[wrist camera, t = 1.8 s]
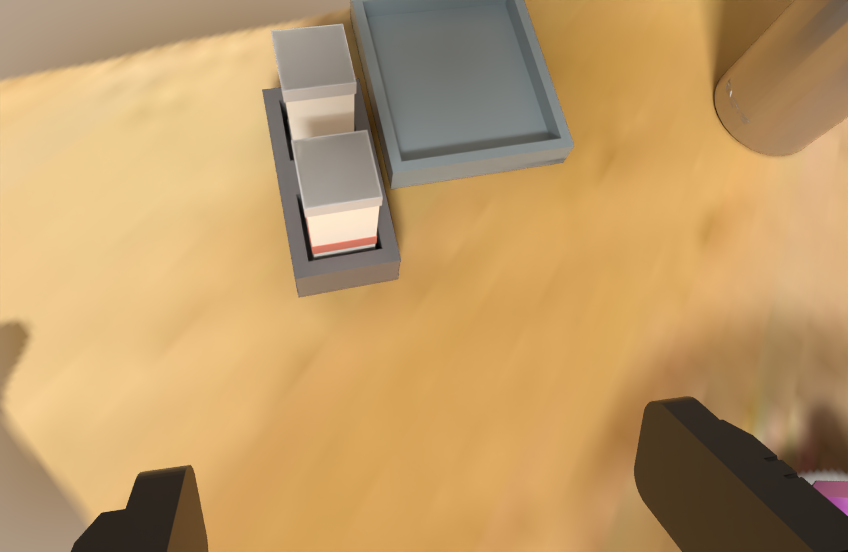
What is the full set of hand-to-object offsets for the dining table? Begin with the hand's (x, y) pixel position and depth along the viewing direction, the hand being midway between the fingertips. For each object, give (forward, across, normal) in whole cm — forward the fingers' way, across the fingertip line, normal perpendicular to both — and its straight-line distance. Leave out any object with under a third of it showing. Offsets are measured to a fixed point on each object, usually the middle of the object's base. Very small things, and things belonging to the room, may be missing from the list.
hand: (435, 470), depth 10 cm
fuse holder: (+34, 0, +4) cm, 34 cm away
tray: (+39, -11, -3) cm, 41 cm away
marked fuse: (+31, -1, +6) cm, 31 cm away
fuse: (+36, 0, 0) cm, 36 cm away
